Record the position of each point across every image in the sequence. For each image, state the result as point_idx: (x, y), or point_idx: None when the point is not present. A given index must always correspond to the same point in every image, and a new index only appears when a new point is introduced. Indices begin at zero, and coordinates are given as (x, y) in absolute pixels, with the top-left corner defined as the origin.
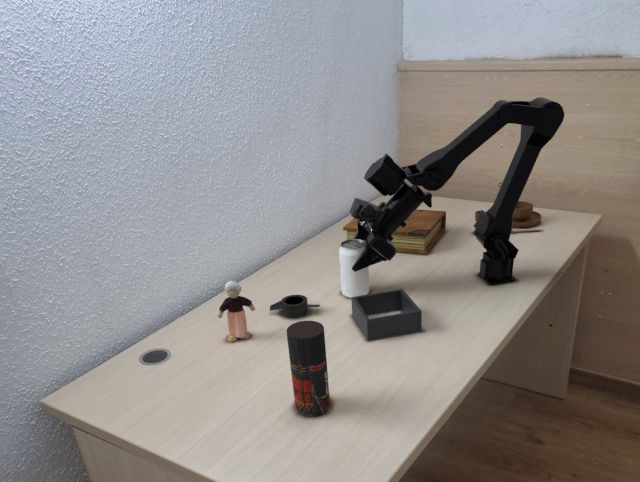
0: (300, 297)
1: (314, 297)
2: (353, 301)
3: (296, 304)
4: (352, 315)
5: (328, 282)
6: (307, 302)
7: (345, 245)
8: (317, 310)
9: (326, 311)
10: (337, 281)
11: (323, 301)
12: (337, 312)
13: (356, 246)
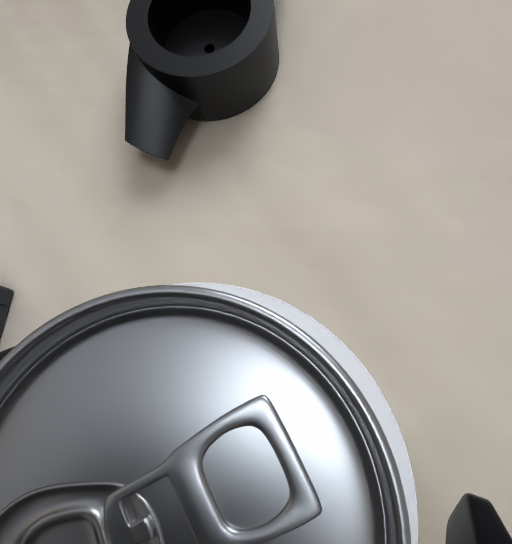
0: (219, 51)
1: (330, 194)
2: None
3: (143, 10)
4: (7, 288)
5: (508, 346)
6: (167, 82)
7: (215, 382)
8: (174, 160)
9: (138, 195)
10: (497, 408)
11: (255, 221)
12: (95, 240)
13: (55, 538)
